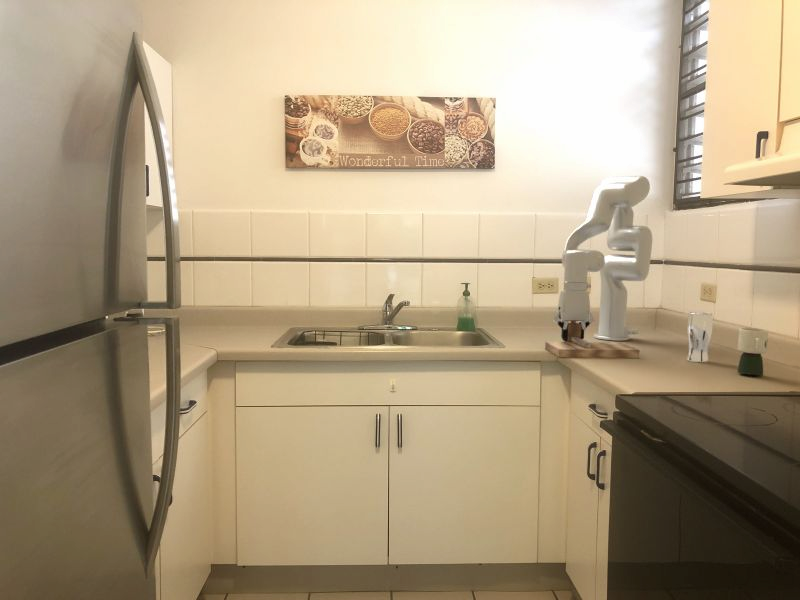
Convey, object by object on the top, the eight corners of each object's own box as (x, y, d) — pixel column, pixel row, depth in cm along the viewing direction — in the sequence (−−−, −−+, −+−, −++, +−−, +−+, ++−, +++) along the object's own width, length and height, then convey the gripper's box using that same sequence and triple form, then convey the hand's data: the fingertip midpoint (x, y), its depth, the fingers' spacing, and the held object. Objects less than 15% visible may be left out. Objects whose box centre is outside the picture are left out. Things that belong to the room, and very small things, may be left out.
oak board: (620, 349, 211) (620, 342, 211) (638, 357, 198) (639, 349, 197) (545, 349, 210) (545, 341, 209) (558, 357, 196) (559, 348, 195)
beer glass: (708, 359, 197) (711, 312, 196) (711, 363, 191) (715, 315, 189) (684, 357, 199) (687, 311, 198) (686, 361, 193) (689, 313, 191)
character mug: (770, 380, 169) (774, 332, 168) (741, 378, 171) (745, 331, 170) (758, 372, 180) (761, 327, 178) (731, 370, 181) (734, 326, 180)
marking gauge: (577, 346, 214) (578, 320, 213) (594, 355, 199) (595, 326, 198) (564, 346, 213) (565, 319, 212) (580, 355, 198) (581, 326, 197)
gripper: (595, 286, 214) (592, 339, 216) (547, 285, 213) (544, 338, 215) (604, 288, 207) (601, 343, 209) (554, 287, 206) (551, 342, 207)
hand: (572, 340), depth 212 cm, fingers closed on marking gauge, 4 cm apart
